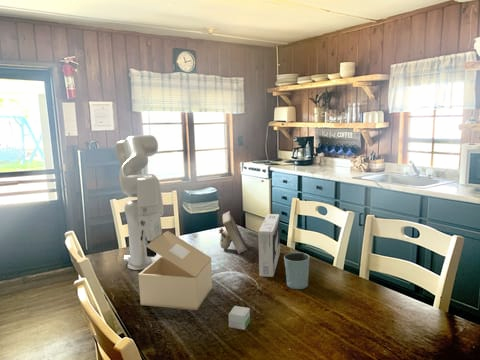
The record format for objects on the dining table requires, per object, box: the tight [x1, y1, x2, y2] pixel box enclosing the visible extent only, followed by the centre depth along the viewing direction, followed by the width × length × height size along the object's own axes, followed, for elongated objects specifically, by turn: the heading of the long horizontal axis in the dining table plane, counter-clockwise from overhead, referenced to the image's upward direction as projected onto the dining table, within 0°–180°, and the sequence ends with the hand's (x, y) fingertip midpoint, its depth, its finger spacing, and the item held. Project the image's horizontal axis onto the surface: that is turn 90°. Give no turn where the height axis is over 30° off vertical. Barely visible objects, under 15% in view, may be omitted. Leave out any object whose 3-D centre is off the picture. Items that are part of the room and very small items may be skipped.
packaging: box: [257, 213, 281, 278], centre depth 171 cm, size 30×6×20 cm, turn 168°
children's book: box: [218, 210, 248, 255], centre depth 192 cm, size 20×12×20 cm, turn 6°
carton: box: [137, 256, 213, 311], centre depth 141 cm, size 22×18×12 cm
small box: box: [228, 305, 251, 331], centre depth 121 cm, size 6×6×5 cm
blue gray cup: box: [283, 251, 311, 290], centre depth 148 cm, size 10×10×12 cm
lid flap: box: [146, 230, 212, 277], centre depth 139 cm, size 21×18×1 cm
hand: (151, 256), depth 142 cm, fingers closed
